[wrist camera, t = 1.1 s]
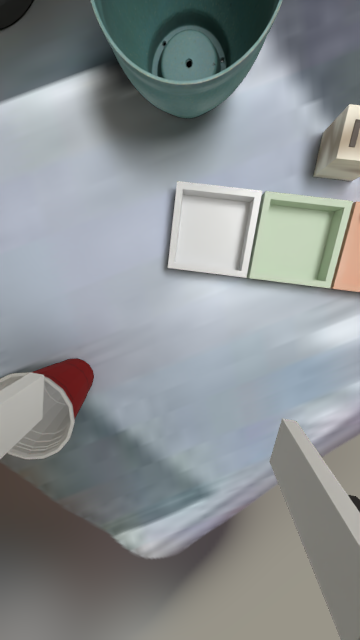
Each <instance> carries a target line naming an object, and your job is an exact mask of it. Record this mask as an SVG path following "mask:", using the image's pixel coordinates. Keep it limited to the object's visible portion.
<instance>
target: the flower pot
mask: <svg viewBox="0 0 360 640" xmlns="http://www.w3.org/2000/svg"><path fill="white" fill-rule="evenodd" d="M90 1H91V4H92V7H93V10H94V13H95V16H96V18H97V20H98V23H99V25H100V27H101V29H102V31H103V33H104V35H105V37H106V39H107V41H108V43H109V44H110V46H111V48H112V49H113V52H114V54H115V56H116V58H117V60H118V62H119V64H120V66H121V67H122V69H123V71H124V72H125V74H126V76H127V77H128V79H129V80H130V81H131V83H132V84H133V85H134V87H135V88H136V89H137V90H138V91H139V92H140V94H141V95H142V96H143V97H144V98H146V99H147V100H148V101H149V102H150V103H151V104H153V105H154V106H156V107H157V108H159V109H160V110H162V111H164V112H167V113H170V114H172V115H174V116H177V117H180V118H194V117H198V116H200V115H202V114H204V113H206V112H208V111H210V110H211V109H213V108H215V107H216V106H218V105H219V104H221V103H222V102H223V101H224V100H225V99H227V98H228V97H229V96H230V95H231V94H232V93H233V92H234V91H235V89H236V88H237V87H238V86H239V85H240V83H241V82H242V81H243V79H244V78H245V77H246V75H247V74H248V72H249V70H250V69H251V67H252V65H253V64H254V62H255V60H256V58H257V56H258V54H259V52H260V50H261V48H262V46H263V43H264V41H265V39H266V36H267V35H268V33H269V31H270V29H271V27H272V25H273V23H274V21H275V19H276V16H277V14H278V11H279V9H280V6H281V3H282V1H283V0H90ZM163 43H166V45H165V46H163ZM221 59H223V60H224V62H221ZM188 61H191V62H192V66H191V67H189V68H188V67H187V66H186V63H187V62H188Z"/></svg>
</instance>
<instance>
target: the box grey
mask: <svg viewBox="0 0 360 640" xmlns="http://www.w3.org/2000/svg"><path fill="white" fill-rule="evenodd" d="M261 196H262V191H259V190H250V189H242V188H233V187H224V186H215V185H206V184H198V183H189V182H180V181H177V187H176V196H175V205H174V214H173V223H172V233H171V242H170V251H169V260H168V268H173V269H181V270H189V271H197V272H205V273H213V274H220V275H228V276H236V277H244V278H246V277H247V272H248V266H249V261H250V255H251V250H252V245H253V239H254V234H255V228H256V223H257V217H258V212H259V206H260V201H261Z"/></svg>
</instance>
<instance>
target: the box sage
mask: <svg viewBox="0 0 360 640" xmlns="http://www.w3.org/2000/svg"><path fill="white" fill-rule="evenodd" d="M352 204H353V201H347V200H338V199H330V198H321V197H312V196H303V195H294V194H286V193H277V192H268V191H265V192H264V194H263V195H262V196H261V201H260V206H259V212H258V217H257V223H256V228H255V234H254V239H253V245H252V250H251V255H250V261H249V266H248V272H247V277H246V278H252V279H260V280H268V281H276V282H284V283H292V284H299V285H307V286H315V287H323V288H330V287H331V283H332V279H333V275H334V272H335V268H336V264H337V260H338V256H339V253H340V249H341V245H342V241H343V238H344V234H345V230H346V226H347V222H348V219H349V215H350V211H351V207H352Z"/></svg>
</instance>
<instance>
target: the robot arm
mask: <svg viewBox="0 0 360 640" xmlns="http://www.w3.org/2000/svg"><path fill="white" fill-rule="evenodd" d="M31 2H32V0H0V29H1V28H4V27H6V26H8V25H10V24H12V23H13V22H15V21H16V20H17V19H18V18H20V17H21V16H22V14H23V13H24V12H25V11H26V10H27V8H28V7H29V5H30V4H31ZM43 392H44V375H42V374H37V373H29V374H27V375H26V376H24V377H22V378H21V379H19V380H17V381H16V382H14V383H12V384H11V385H9V386H7V387H6V388H4V389H2V390H1V391H0V459H1V458H2V457H3V456H4V455H5V454H6V453H7V452H8V451H9V450H10V449H11V448H12V447H13V446H14V445H15V444H16V443H18V442H19V441H20V440H21V439H22V438H23V437H24V436H25V435H26V434H27V433H28V432H29V431H30V430H31V429H32V428H33V427H34V426H35V425H36V424H37V423H38V422H40V421H41V420H42V417H43ZM270 464H271V466H272V469H273V471H274V474H275V476H276V479H277V481H278V484H279V486H280V489H281V491H282V494H283V496H284V499H285V501H286V504H287V506H288V509H289V511H290V514H291V516H292V519H293V521H294V524H295V526H296V529H297V531H298V534H299V536H300V539H301V541H302V544H303V546H304V549H305V551H306V554H307V556H308V559H309V561H310V564H311V566H312V569H313V571H314V574H315V576H316V579H317V581H318V584H319V586H320V589H321V591H322V594H323V596H324V599H325V601H326V603H327V606H328V609H329V611H330V614H331V616H332V619H333V621H334V624H335V626H336V629H337V631H338V634H339V636H340V639H341V640H360V500H359V499H358V498H357V497H356V496H351V495H347V493H346V492H345V490H344V489H343V488H342V486H341V485H340V483H339V482H338V480H337V479H336V477H335V476H334V475H333V473H332V472H331V470H330V469H329V467H328V466H327V464H326V463H325V462H324V460H323V459H322V457H321V456H320V454H319V453H318V451H317V450H316V449H315V447H314V446H313V444H312V443H311V441H310V440H309V438H308V437H307V436H306V434H305V433H304V431H303V430H302V428H301V427H300V425H299V424H298V423H297V421H293V420H288V419H282V421H281V424H280V428H279V431H278V434H277V438H276V441H275V445H274V448H273V452H272V455H271V458H270Z"/></svg>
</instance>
